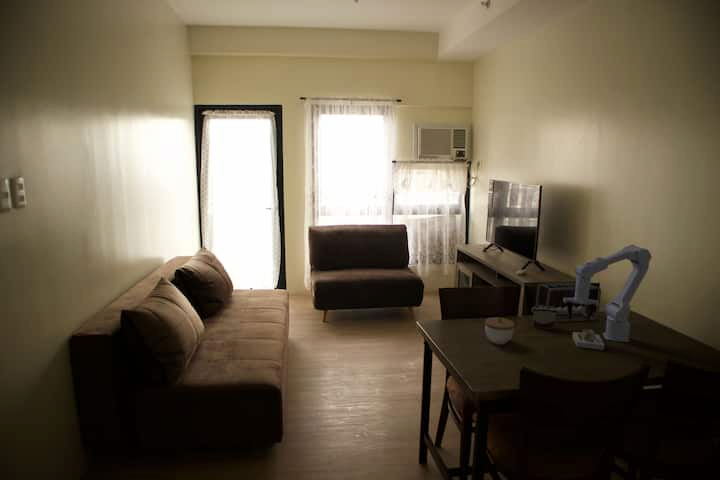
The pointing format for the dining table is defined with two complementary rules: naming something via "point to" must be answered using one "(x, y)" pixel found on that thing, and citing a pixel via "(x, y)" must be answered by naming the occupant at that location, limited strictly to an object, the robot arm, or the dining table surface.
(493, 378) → the dining table surface
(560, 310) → the newton's cradle
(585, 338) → the beige cardboard-like cube
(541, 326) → the food container
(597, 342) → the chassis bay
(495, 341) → the lidded bowl
